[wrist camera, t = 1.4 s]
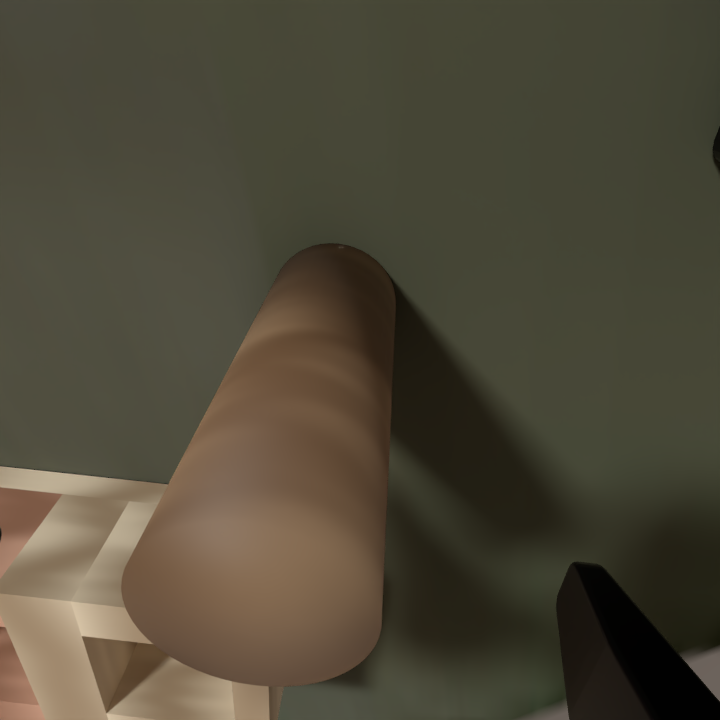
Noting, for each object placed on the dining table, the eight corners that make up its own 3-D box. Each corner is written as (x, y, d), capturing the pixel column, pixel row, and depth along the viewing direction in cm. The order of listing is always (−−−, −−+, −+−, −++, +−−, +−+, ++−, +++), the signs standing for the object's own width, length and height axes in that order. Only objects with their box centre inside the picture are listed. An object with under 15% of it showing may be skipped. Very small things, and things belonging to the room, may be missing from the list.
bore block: (296, 498, 20) (267, 623, 16) (294, 629, 25) (270, 756, 20) (-76, 458, 21) (-202, 570, 16) (-16, 593, 25) (-103, 711, 21)
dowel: (402, 249, 15) (395, 538, 7) (389, 361, 17) (371, 698, 9) (272, 237, 15) (99, 506, 7) (273, 349, 17) (139, 671, 9)
